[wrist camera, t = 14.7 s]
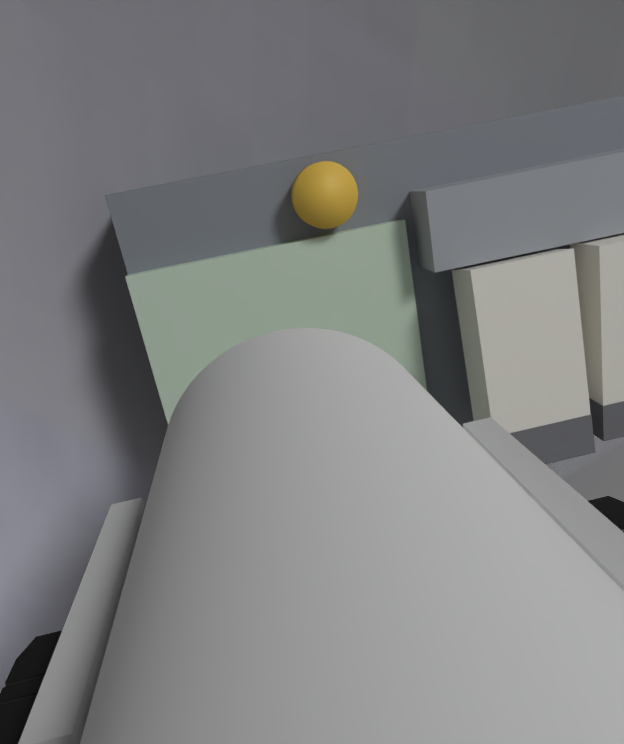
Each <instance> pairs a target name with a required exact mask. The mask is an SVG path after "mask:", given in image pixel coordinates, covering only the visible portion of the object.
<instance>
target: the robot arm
mask: <svg viewBox="0 0 624 744" xmlns="http://www.w3.org/2000/svg"><path fill="white" fill-rule="evenodd" d="M463 428H464V429H465V430H466V431H467V432H468V433H469V434H470V436H471V437H472V438H473V439H474V440H475V441H476V442H477V443H478V444H479V445H480V446H481V447H482V448H483V449H484V450H485V451H486V452H487V453H488V454H489V455H490V456H491V457H492V458H493V459H494V460H495V461H496V462H497V463H498V464H499V465H500V466H501V467H502V468H503V469H504V470H505V471H506V472H507V473H508V474H509V475H510V476H511V477H512V478H513V479H514V480H515V481H516V482H517V483H518V484H519V485H520V486H521V487H522V488H523V489H524V490H525V492H526V493H527V494H528V495H529V496H530V497H531V498H532V499H533V500H534V501H535V502H536V503H537V504H538V505H539V506H540V507H541V508H542V509H543V510H544V511H545V512H546V513H547V514H548V515H549V516H550V517H551V518H552V519H553V520H554V521H555V522H556V523H557V524H558V525H559V526H560V527H561V528H562V529H563V530H564V531H565V532H566V533H567V534H568V535H569V536H570V537H571V538H572V539H573V540H574V541H575V542H576V543H577V544H578V545H579V546H580V547H581V549H582V550H583V551H584V552H585V553H586V554H587V555H588V556H589V557H590V558H591V559H592V560H593V561H594V562H595V563H596V564H597V565H598V566H599V567H600V568H601V569H602V570H603V571H604V572H605V573H606V574H607V575H608V576H609V577H610V578H611V579H612V580H613V581H614V582H615V583H616V584H617V585H618V586H619V587H620V588H621V589H622V590H623V591H624V502H622V501H620V500H617V499H615V498H612V497H610V496H606V497H602V498H598V499H594V500H590V501H587V500H586V499H584V498H583V497H582V496H581V495H580V494H579V493H578V492H576V491H575V490H574V489H573V488H572V487H571V486H569V485H568V484H567V483H566V482H565V481H564V480H563V479H561V478H560V477H559V476H558V475H557V474H556V473H555V472H553V471H552V470H551V469H550V468H549V467H548V466H547V465H545V464H544V463H543V462H542V461H541V460H540V459H538V458H537V457H536V456H535V455H534V454H533V453H532V452H530V451H529V450H528V449H527V448H526V447H525V446H523V445H522V444H521V443H520V442H519V441H518V440H517V439H515V438H514V437H513V436H512V435H511V434H510V433H508V432H507V431H506V430H505V429H504V428H503V427H502V426H500V425H499V424H498V423H497V422H496V421H495V420H494V419H492V418H491V417H490V418H485V419H481V420H477V421H472V422H468V423H464V424H463ZM144 510H145V505H144V502H143V499H142V497H141V498H137V499H133V500H128V501H124V502H120V503H115V504H111V506H110V509H109V512H108V514H107V517H106V519H105V522H104V524H103V527H102V530H101V532H100V535H99V537H98V540H97V542H96V545H95V548H94V550H93V553H92V555H91V558H90V560H89V563H88V566H87V568H86V571H85V573H84V576H83V578H82V581H81V584H80V586H79V589H78V591H77V594H76V596H75V599H74V602H73V604H72V607H71V609H70V612H69V614H68V617H67V620H66V622H65V625H64V627H63V630H62V631H58V632H54V633H50V634H46V635H42V636H37V637H35V639H34V640H33V641H32V642H31V643H30V644H29V645H28V647H27V648H26V649H25V650H24V651H23V652H22V653H21V655H20V656H19V657H18V658H17V659H16V661H15V663H14V665H13V667H12V670H11V672H10V674H9V676H8V678H7V680H6V683H5V684H6V686H5V687H4V688H3V689H2V691H1V693H0V744H80V741H81V738H82V734H83V730H84V727H85V723H86V720H87V716H88V712H89V709H90V705H91V702H92V698H93V694H94V691H95V687H96V684H97V680H98V676H99V673H100V669H101V666H102V662H103V658H104V655H105V651H106V648H107V644H108V640H109V637H110V633H111V629H112V626H113V622H114V619H115V615H116V611H117V608H118V604H119V601H120V597H121V593H122V590H123V586H124V583H125V579H126V575H127V572H128V568H129V565H130V561H131V557H132V554H133V550H134V546H135V543H136V539H137V536H138V532H139V528H140V525H141V521H142V518H143V514H144Z"/></svg>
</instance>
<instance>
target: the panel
mask: <svg viewBox="0 0 624 744" xmlns="http://www.w3.org/2000/svg"><path fill="white" fill-rule="evenodd" d="M105 197H106V201H107V204H108V208H109V211H110V214H111V218H112V221H113V225H114V228H115V232H116V235H117V239H118V242H119V246H120V249H121V253H122V256H123V260H124V263H125V267H126V270H127V274H128V275H127V276H126V277H125V278H126V282H127V285H128V289H129V292H130V295H131V299H132V302H133V306H134V309H135V313H136V316H137V320H138V323H139V327H140V330H141V333H142V337H143V340H144V344H145V347H146V351H147V354H148V358H149V361H150V365H151V368H152V371H153V375H154V378H155V382H156V385H157V389H158V392H159V396H160V399H161V402H162V406H163V409H164V413H165V416H166V420H167V423H168V424H169V421H170V418H171V416H172V414H173V411H174V409H175V407H176V405H177V403H178V401H179V400H180V398H181V396H182V395H183V393H184V392H185V390H186V389H187V387H188V386H189V384H190V383H191V382H192V381H193V380H194V379H195V377H196V376H197V375H198V374H199V373H200V372H201V371H202V370H203V369H204V368H205V367H206V366H207V365H208V364H209V363H211V362H212V361H213V360H214V359H216V358H217V357H218V356H220V355H221V354H223V353H224V352H226V351H227V350H229V349H230V348H232V347H234V346H236V345H238V344H240V343H242V342H244V341H246V340H249V339H251V338H254V337H256V336H259V335H262V334H266V333H269V332H273V331H279V330H284V329H293V328H320V329H329V330H334V331H339V332H343V333H347V334H350V335H353V336H356V337H358V338H361V339H363V340H365V341H368V342H370V343H371V344H373V345H375V346H377V347H379V348H380V349H382V350H383V351H385V352H386V353H388V354H389V355H390V356H392V357H393V358H394V359H395V360H396V361H397V362H399V363H400V364H401V365H402V366H403V367H404V368H405V369H406V370H407V371H408V372H409V373H410V374H411V375H412V376H413V377H414V379H415V380H416V381H417V382H418V383H419V384H420V385H421V386H422V387H423V388H424V389H425V390H426V391H427V392H428V393H429V394H430V395H431V396H432V397H433V398H434V399H435V400H436V401H437V402H438V403H439V404H440V405H441V406H442V407H443V408H444V409H445V410H446V411H447V412H448V413H449V414H450V415H451V416H452V417H453V418H454V419H455V420H456V421H457V422H458V423H459V424H460V425H461V426H462V427H463V424H464V423H468V422H472V421H474V420H473V413H472V406H471V400H470V393H469V386H468V379H467V372H466V365H465V358H464V352H463V345H462V338H461V331H460V324H459V317H458V311H457V304H456V297H455V290H454V283H453V276H452V269H456V268H461V267H466V266H471V265H475V264H480V263H485V262H490V261H494V260H499V259H504V258H509V257H513V256H518V255H523V254H528V253H532V252H537V251H542V250H548V249H574V255H575V265H576V274H577V284H578V294H579V304H580V314H581V324H582V334H583V344H584V354H585V364H586V373H587V383H588V393H589V403H590V413H591V415H592V425H593V434H594V435H595V436H597V437H598V438H600V439H601V440H603V441H607V440H611V439H615V438H619V437H624V95H622V96H617V97H612V98H607V99H602V100H596V101H591V102H586V103H581V104H576V105H570V106H565V107H560V108H555V109H550V110H545V111H539V112H534V113H529V114H524V115H519V116H513V117H508V118H503V119H498V120H493V121H488V122H482V123H477V124H472V125H467V126H462V127H456V128H451V129H446V130H441V131H436V132H431V133H425V134H420V135H415V136H410V137H405V138H399V139H394V140H389V141H384V142H379V143H374V144H368V145H363V146H358V147H353V148H348V149H342V150H337V151H332V152H327V153H322V154H317V155H311V156H306V157H301V158H296V159H291V160H285V161H280V162H275V163H270V164H265V165H259V166H254V167H249V168H244V169H239V170H234V171H228V172H223V173H218V174H213V175H208V176H202V177H197V178H192V179H187V180H182V181H177V182H171V183H166V184H161V185H156V186H151V187H145V188H140V189H135V190H130V191H125V192H120V193H114V194H109V195H105Z"/></svg>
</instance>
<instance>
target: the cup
mask: <svg viewBox="0 0 624 744" xmlns="http://www.w3.org/2000/svg"><path fill="white" fill-rule="evenodd" d="M80 744H624V591H623V590H622V589H621V588H620V587H619V586H618V585H617V584H616V583H615V582H614V581H613V580H612V579H611V578H610V577H609V576H608V575H607V574H606V573H605V572H604V571H603V570H602V569H601V568H600V567H599V566H598V565H597V564H596V563H595V562H594V561H593V560H592V559H591V558H590V557H589V556H588V555H587V554H586V553H585V552H584V551H583V550H582V549H581V547H580V546H579V545H578V544H577V543H576V542H575V541H574V540H573V539H572V538H571V537H570V536H569V535H568V534H567V533H566V532H565V531H564V530H563V529H562V528H561V527H560V526H559V525H558V524H557V523H556V522H555V521H554V520H553V519H552V518H551V517H550V516H549V515H548V514H547V513H546V512H545V511H544V510H543V509H542V508H541V507H540V506H539V505H538V504H537V503H536V502H535V501H534V500H533V499H532V498H531V497H530V496H529V495H528V494H527V493H526V492H525V490H524V489H523V488H522V487H521V486H520V485H519V484H518V483H517V482H516V481H515V480H514V479H513V478H512V477H511V476H510V475H509V474H508V473H507V472H506V471H505V470H504V469H503V468H502V467H501V466H500V465H499V464H498V463H497V462H496V461H495V460H494V459H493V458H492V457H491V456H490V455H489V454H488V453H487V452H486V451H485V450H484V449H483V448H482V447H481V446H480V445H479V444H478V443H477V442H476V441H475V440H474V439H473V438H472V437H471V436H470V434H469V433H468V432H467V431H466V430H465V429H464V428H463V427H462V426H461V425H460V424H459V423H458V422H457V421H456V420H455V419H454V418H453V417H452V416H451V415H450V414H449V413H448V412H447V411H446V410H445V409H444V408H443V407H442V406H441V405H440V404H439V403H438V402H437V401H436V400H435V399H434V398H433V397H432V396H431V395H430V394H429V393H428V392H427V391H426V390H425V389H424V388H423V387H422V386H421V385H420V384H419V383H418V382H417V381H416V380H415V379H414V377H413V376H412V375H411V374H410V373H409V372H408V371H407V370H406V369H405V368H404V367H403V366H402V365H401V364H400V363H399V362H397V361H396V360H395V359H394V358H393V357H392V356H390V355H389V354H388V353H386V352H385V351H383V350H382V349H380V348H379V347H377V346H375V345H373V344H371V343H370V342H368V341H365V340H363V339H361V338H358V337H356V336H353V335H350V334H347V333H343V332H339V331H334V330H329V329H320V328H293V329H284V330H279V331H273V332H269V333H266V334H262V335H259V336H256V337H254V338H251V339H249V340H246V341H244V342H242V343H240V344H238V345H236V346H234V347H232V348H230V349H229V350H227V351H226V352H224V353H223V354H221V355H220V356H218V357H217V358H216V359H214V360H213V361H212V362H211V363H209V364H208V365H207V366H206V367H205V368H204V369H203V370H202V371H201V372H200V373H199V374H198V375H197V376H196V377H195V379H194V380H193V381H192V382H191V383H190V384H189V386H188V387H187V389H186V390H185V392H184V393H183V395H182V396H181V398H180V400H179V401H178V403H177V405H176V407H175V409H174V411H173V414H172V416H171V418H170V421H169V424H168V428H167V431H166V435H165V438H164V442H163V445H162V449H161V453H160V456H159V460H158V463H157V467H156V471H155V474H154V478H153V482H152V485H151V489H150V492H149V496H148V500H147V503H146V507H145V510H144V514H143V518H142V521H141V525H140V528H139V532H138V536H137V539H136V543H135V546H134V550H133V554H132V557H131V561H130V565H129V568H128V572H127V575H126V579H125V583H124V586H123V590H122V593H121V597H120V601H119V604H118V608H117V611H116V615H115V619H114V622H113V626H112V629H111V633H110V637H109V640H108V644H107V648H106V651H105V655H104V658H103V662H102V666H101V669H100V673H99V676H98V680H97V684H96V687H95V691H94V694H93V698H92V702H91V705H90V709H89V712H88V716H87V720H86V723H85V727H84V730H83V734H82V738H81V741H80Z"/></svg>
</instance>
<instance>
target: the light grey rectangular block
mask: <svg viewBox="0 0 624 744" xmlns="http://www.w3.org/2000/svg"><path fill="white" fill-rule="evenodd" d="M452 276H453V283H454V290H455V297H456V304H457V311H458V317H459V324H460V331H461V338H462V345H463V352H464V358H465V365H466V372H467V379H468V386H469V393H470V400H471V406H472V413H473V420H474V421H477V420H481V419H485V418H490V417H491V418H492V419H494V420H495V421H496V422H497V423H498V424H499V425H500V426H502V427H503V428H504V429H505V430H506V431H507V432H508V433H510V434H511V435H512V436H513V437H514V438H515V439H517V440H518V441H519V442H520V443H521V444H522V445H523V446H525V447H526V448H527V449H528V450H529V451H530V452H532V453H533V454H534V455H535V456H536V457H537V458H538V459H540V460H541V461H542V462H543V463H544V464H548V463H552V462H557V461H561V460H565V459H569V458H573V457H578V456H582V455H586V454H590V453H595V445H594V435H593V425H592V415H591V413H590V403H589V393H588V383H587V373H586V364H585V354H584V344H583V334H582V324H581V314H580V304H579V294H578V284H577V274H576V265H575V255H574V249H548V250H542V251H537V252H532V253H528V254H523V255H518V256H513V257H509V258H504V259H499V260H494V261H490V262H485V263H480V264H475V265H471V266H466V267H461V268H456V269H452Z"/></svg>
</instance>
